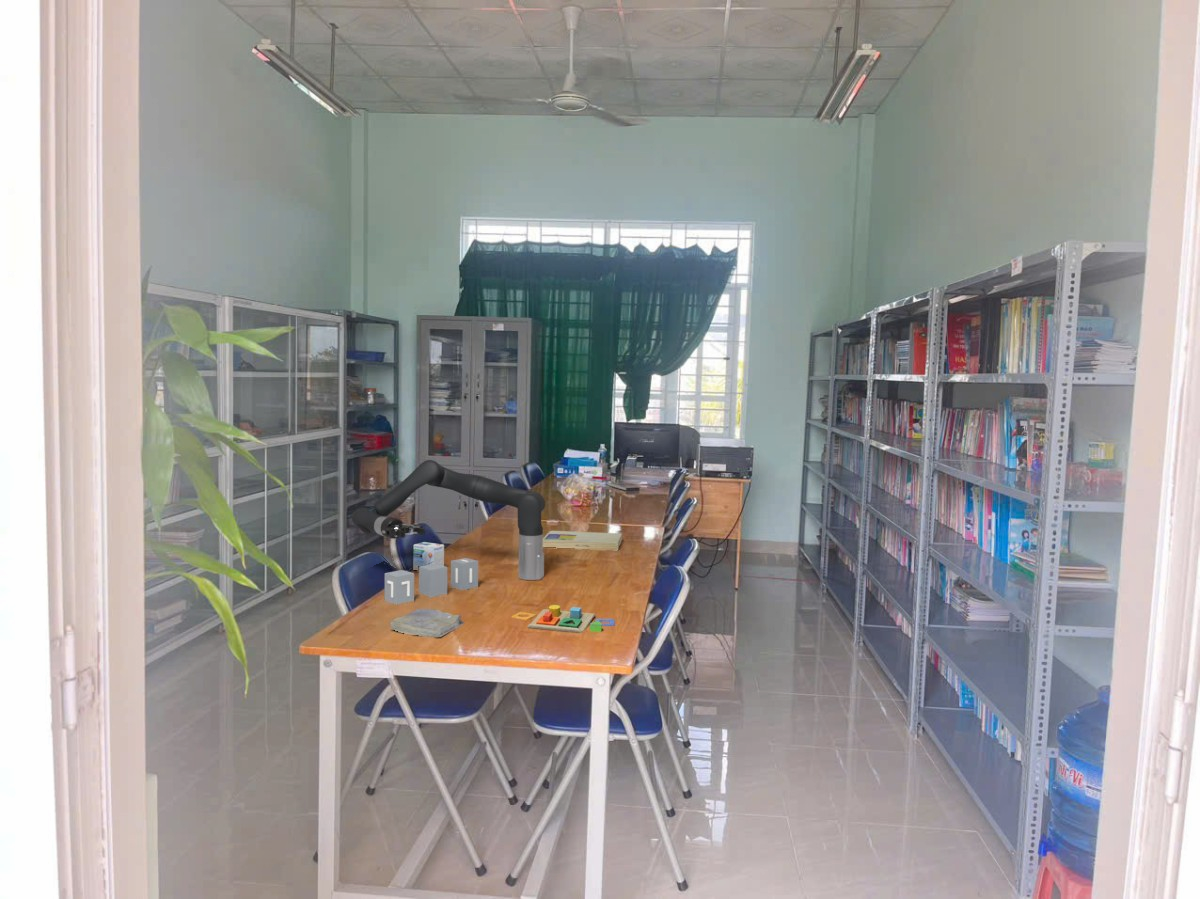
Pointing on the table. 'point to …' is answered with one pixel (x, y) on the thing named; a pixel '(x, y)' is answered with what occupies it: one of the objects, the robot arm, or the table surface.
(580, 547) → the puzzle box
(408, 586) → the block marked 7
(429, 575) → the plain block
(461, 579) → the block marked 1
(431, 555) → the light bulb box
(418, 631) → the fossil
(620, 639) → the table surface
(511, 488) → the robot arm
